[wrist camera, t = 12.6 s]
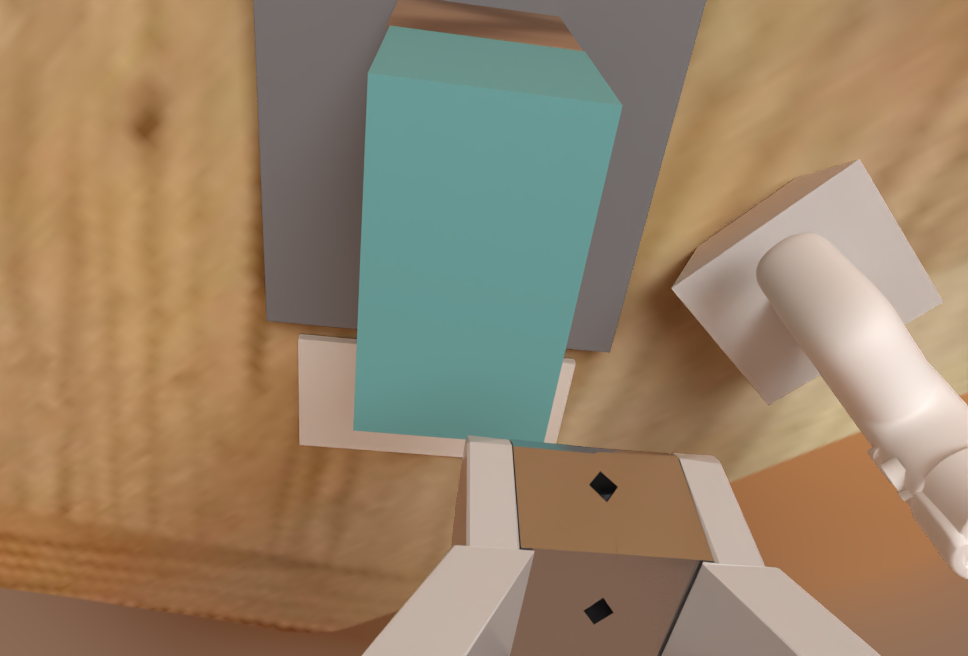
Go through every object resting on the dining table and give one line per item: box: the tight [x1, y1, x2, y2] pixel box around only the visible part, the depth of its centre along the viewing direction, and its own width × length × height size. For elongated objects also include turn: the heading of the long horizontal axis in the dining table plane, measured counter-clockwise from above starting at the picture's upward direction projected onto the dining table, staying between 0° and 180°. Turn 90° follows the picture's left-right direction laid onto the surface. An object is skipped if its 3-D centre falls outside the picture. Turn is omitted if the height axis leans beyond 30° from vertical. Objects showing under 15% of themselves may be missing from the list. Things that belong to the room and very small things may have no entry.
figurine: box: [671, 159, 968, 580], centre depth 22 cm, size 7×9×15 cm
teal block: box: [353, 26, 623, 442], centre depth 18 cm, size 5×9×5 cm, turn 173°
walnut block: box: [386, 0, 582, 51], centre depth 22 cm, size 5×9×5 cm, turn 173°
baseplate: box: [254, 0, 706, 353], centre depth 25 cm, size 14×16×2 cm
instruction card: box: [298, 334, 575, 457], centre depth 32 cm, size 12×6×1 cm, turn 83°
